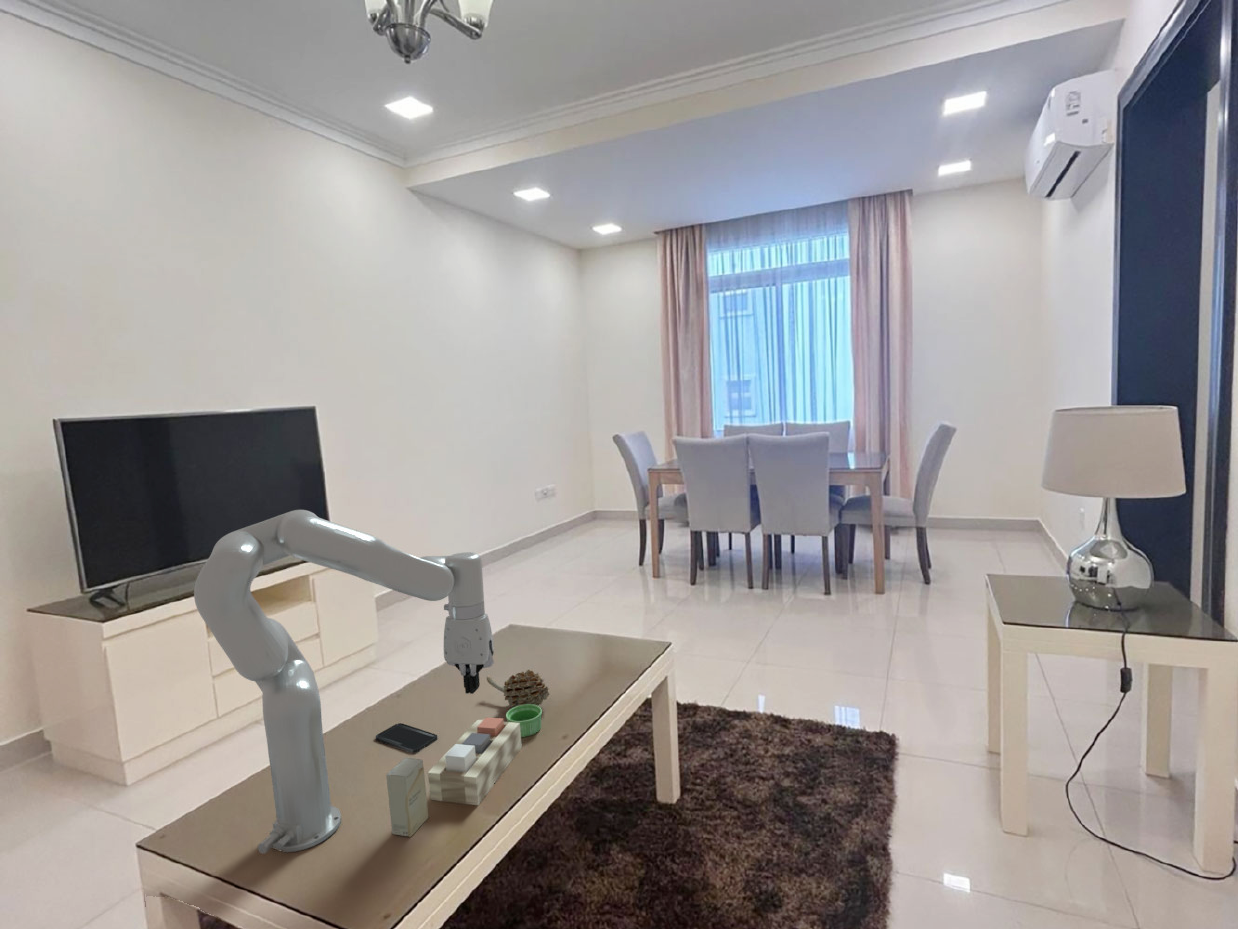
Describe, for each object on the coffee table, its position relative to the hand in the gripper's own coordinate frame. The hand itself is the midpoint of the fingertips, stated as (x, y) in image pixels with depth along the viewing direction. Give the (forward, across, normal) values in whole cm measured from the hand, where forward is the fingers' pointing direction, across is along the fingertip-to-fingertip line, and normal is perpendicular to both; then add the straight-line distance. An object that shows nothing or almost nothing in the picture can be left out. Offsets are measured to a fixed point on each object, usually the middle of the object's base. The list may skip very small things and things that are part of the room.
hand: (472, 690), depth 139 cm
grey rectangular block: (+16, +1, 0) cm, 16 cm away
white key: (+15, 0, -7) cm, 17 cm away
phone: (+19, -24, +10) cm, 33 cm away
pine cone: (+18, -4, +31) cm, 36 cm away
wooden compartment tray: (+18, 0, 0) cm, 19 cm away
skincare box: (+19, -5, -19) cm, 27 cm away
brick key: (+16, +1, +7) cm, 18 cm away
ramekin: (+18, +4, +19) cm, 27 cm away
